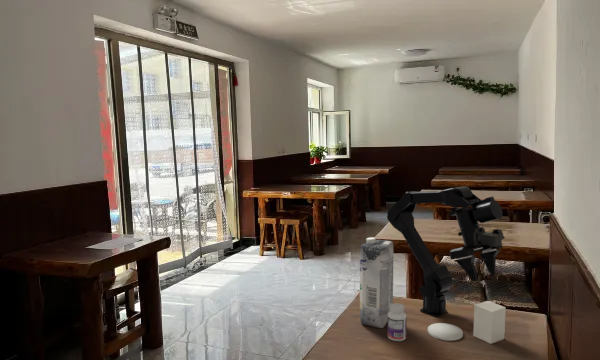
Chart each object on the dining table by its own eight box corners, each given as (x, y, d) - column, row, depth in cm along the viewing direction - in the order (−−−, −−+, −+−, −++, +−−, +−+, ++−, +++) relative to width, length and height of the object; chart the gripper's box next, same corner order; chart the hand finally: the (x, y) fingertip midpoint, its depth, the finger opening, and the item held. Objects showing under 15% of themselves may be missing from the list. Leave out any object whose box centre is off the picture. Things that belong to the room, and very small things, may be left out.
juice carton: (394, 317, 147) (395, 236, 144) (384, 330, 138) (386, 244, 135) (368, 312, 151) (369, 233, 148) (357, 325, 142) (357, 240, 139)
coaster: (421, 332, 137) (421, 329, 137) (439, 322, 143) (439, 320, 143) (451, 344, 129) (451, 341, 129) (469, 333, 136) (469, 330, 136)
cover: (473, 335, 134) (474, 304, 133) (486, 330, 137) (487, 300, 136) (490, 343, 129) (492, 311, 128) (504, 338, 132) (505, 307, 131)
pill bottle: (394, 331, 138) (394, 300, 136) (409, 337, 134) (410, 305, 132) (383, 337, 134) (384, 305, 133) (399, 343, 130) (399, 311, 129)
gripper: (473, 224, 127) (490, 280, 123) (510, 217, 137) (526, 268, 134) (442, 232, 135) (457, 284, 132) (478, 225, 146) (493, 273, 143)
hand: (484, 277), depth 135 cm, fingers open, 9 cm apart
